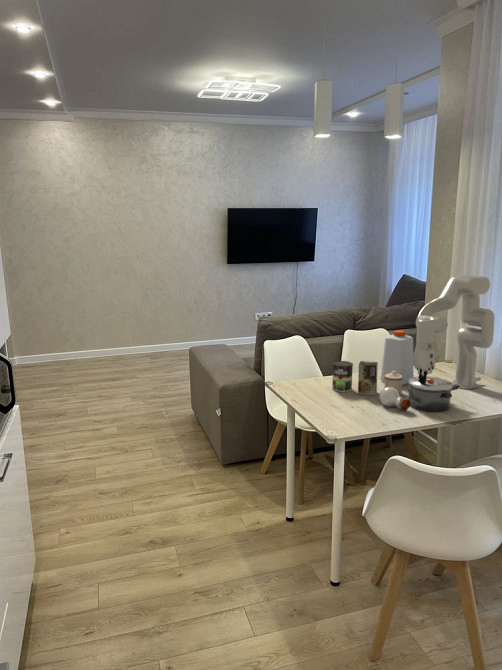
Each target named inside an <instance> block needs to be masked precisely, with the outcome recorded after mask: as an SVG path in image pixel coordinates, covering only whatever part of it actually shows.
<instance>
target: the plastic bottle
mask: <svg viewBox="0 0 502 670" xmlns="http://www.w3.org/2000/svg"><path fill="white" fill-rule="evenodd" d="M413 359H414V338H413V337H412V336H410V335H407V334H406V331H404V330H401V329H400V330H399V329H397V330H394V331H393V333H392V334H390V335H388V336H386V337H385V339H384V347H383V355H382V363H381V371H380V381H382V382H383V383H384V377H385V375H386V374H389V373H392V371H396V373H398V374H400V375H402V376H403V379H402V386H404V385H407V384H408V380H409V379H410V378H412V377H415V376H414V365H413ZM408 385H409V384H408Z"/></svg>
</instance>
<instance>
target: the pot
mask: <svg viewBox="0 0 502 670" xmlns="http://www.w3.org/2000/svg"><path fill="white" fill-rule="evenodd" d="M436 378H439V377H438V376H436ZM458 389H461V388H460V386H459V385H456V384H454V386H453V388H452V389H451V390H448V391H426V390H421V389H417V388H414V387H412V386H410V385H409V384H408V396H407V400H409V399H410V407H409V408H412V409H414V410H417V411H419V412H425V413H443V412H447V411H448V410H450V408H451V398H452V397H453V394H452V391H455V390H458Z"/></svg>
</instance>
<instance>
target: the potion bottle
mask: <svg viewBox="0 0 502 670" xmlns="http://www.w3.org/2000/svg"><path fill="white" fill-rule="evenodd" d="M378 397H379V401H380V403H381V404H382V405H384V406H385V407H390V408H392V407H394V406H396V407H397V409H399V410H401V411H403V412H406V411H407V410H408V409H409V408H411V407H410V399H409V400H408V396H404V397H401V395H400V394H399V392H398V391H397V390H396V389H395V388H393V387H386V388H385V387H384V388H383V389H382V390H381V391H380V392H379V396H378Z"/></svg>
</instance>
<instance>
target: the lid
mask: <svg viewBox="0 0 502 670" xmlns="http://www.w3.org/2000/svg"><path fill="white" fill-rule="evenodd" d="M436 377H437V376H436ZM436 377H435V376H428V375H427V376H426V383H423V384H420V383H418V382H419V375H418V376H414V377H412V378H410V379H409V380H408V386H409V385H410V386H412V387H414V388H417V389H421V390H426V391H448V390H451V389H452V388H453V384H452V382H451V381H449V380H447V379H445V378H441V377H438V378H436Z"/></svg>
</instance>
